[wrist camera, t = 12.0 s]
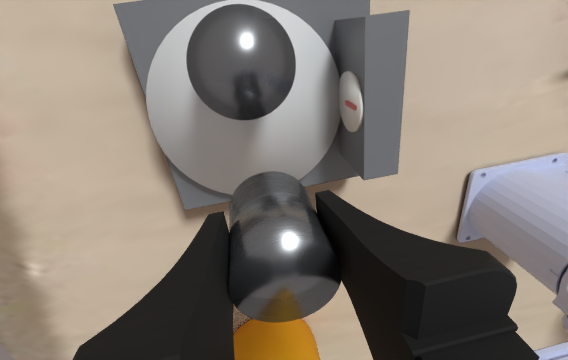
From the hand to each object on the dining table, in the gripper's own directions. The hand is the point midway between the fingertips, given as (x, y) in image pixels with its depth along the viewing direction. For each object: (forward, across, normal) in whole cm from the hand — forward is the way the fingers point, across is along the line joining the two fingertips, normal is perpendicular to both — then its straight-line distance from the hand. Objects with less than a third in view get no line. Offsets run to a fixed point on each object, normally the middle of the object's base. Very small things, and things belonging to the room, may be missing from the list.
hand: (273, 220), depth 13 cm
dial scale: (+9, -1, -3) cm, 10 cm away
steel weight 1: (+6, 0, -6) cm, 9 cm away
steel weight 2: (+2, 0, 0) cm, 2 cm away
